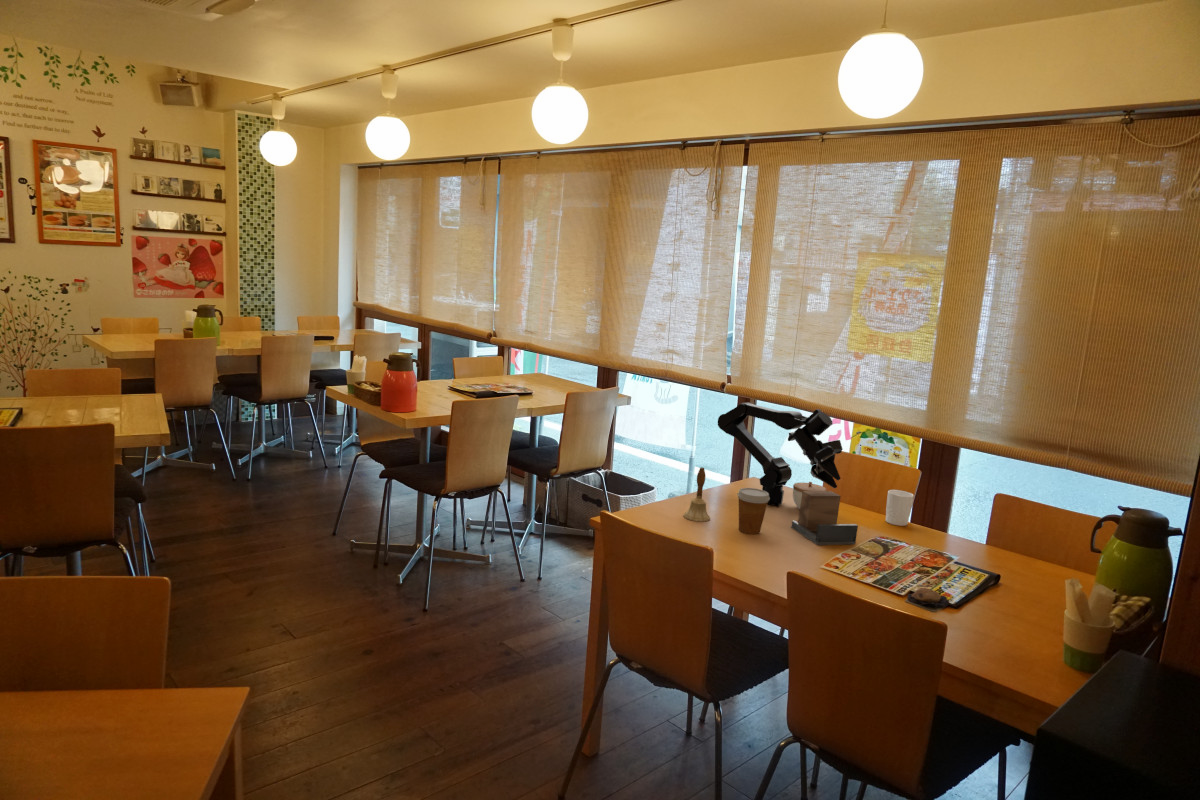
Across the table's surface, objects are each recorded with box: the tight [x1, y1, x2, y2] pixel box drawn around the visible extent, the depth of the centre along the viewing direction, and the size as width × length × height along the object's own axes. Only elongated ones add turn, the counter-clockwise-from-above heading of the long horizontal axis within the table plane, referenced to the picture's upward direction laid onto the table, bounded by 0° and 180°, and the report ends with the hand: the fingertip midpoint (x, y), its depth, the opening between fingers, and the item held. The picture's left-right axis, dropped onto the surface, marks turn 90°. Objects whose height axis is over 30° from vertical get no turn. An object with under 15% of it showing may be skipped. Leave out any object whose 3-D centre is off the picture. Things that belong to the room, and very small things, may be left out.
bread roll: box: [904, 587, 950, 613], centre depth 185 cm, size 11×8×4 cm
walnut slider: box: [797, 490, 841, 531], centre depth 231 cm, size 5×10×11 cm, turn 106°
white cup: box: [885, 489, 915, 527], centre depth 249 cm, size 8×8×10 cm
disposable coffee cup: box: [737, 487, 770, 535], centre depth 227 cm, size 10×10×12 cm
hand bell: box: [683, 467, 711, 523], centre depth 235 cm, size 8×8×16 cm
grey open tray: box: [790, 520, 859, 546], centre depth 229 cm, size 15×13×6 cm
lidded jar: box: [792, 481, 827, 510], centre depth 255 cm, size 11×11×9 cm
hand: (837, 483), depth 242 cm, fingers open, 9 cm apart
